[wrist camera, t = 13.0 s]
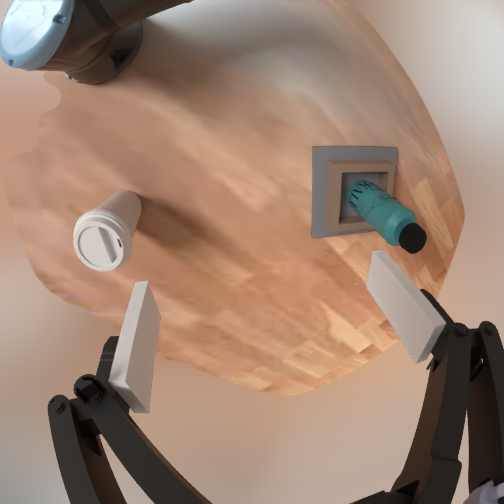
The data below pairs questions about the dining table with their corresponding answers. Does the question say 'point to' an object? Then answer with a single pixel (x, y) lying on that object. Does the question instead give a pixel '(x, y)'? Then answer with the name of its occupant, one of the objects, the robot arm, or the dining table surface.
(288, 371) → the dining table surface
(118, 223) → the coffee cup
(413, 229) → the beverage bottle
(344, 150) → the bottle stand
